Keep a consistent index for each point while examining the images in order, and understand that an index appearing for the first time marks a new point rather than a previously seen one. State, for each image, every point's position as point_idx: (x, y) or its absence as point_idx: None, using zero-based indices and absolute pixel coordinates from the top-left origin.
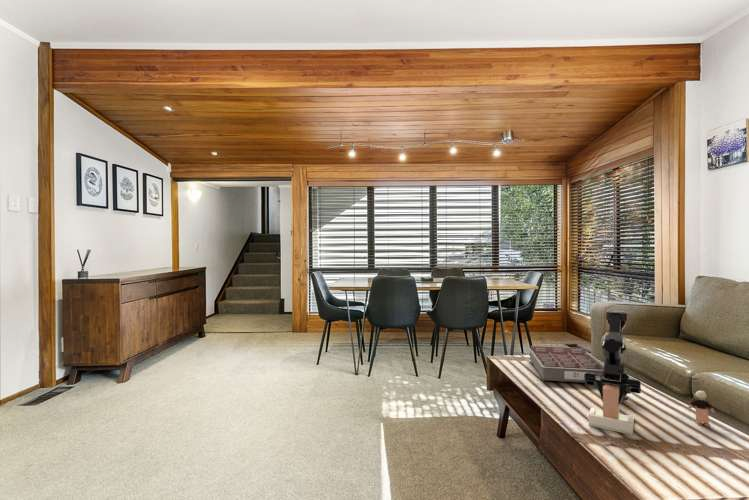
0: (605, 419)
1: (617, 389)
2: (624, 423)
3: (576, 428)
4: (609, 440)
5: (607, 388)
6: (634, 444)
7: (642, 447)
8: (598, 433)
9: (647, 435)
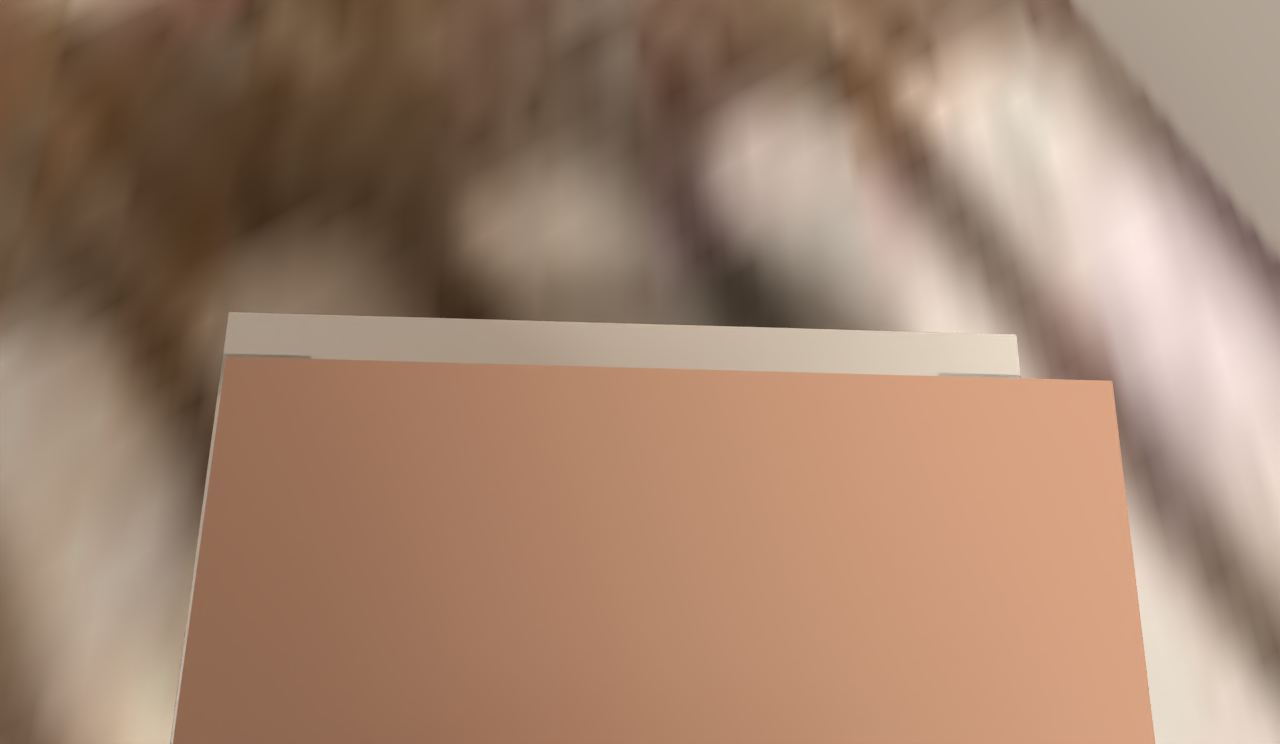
0: (707, 334)
1: (247, 684)
2: (377, 325)
3: (1057, 179)
4: (613, 18)
5: (864, 523)
6: (311, 59)
7: (220, 20)
8: (764, 167)
9: (80, 493)
